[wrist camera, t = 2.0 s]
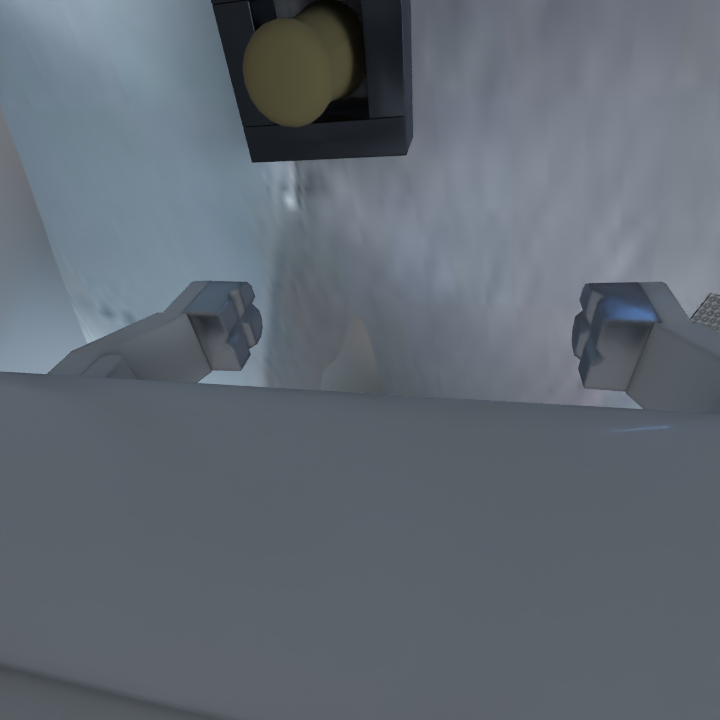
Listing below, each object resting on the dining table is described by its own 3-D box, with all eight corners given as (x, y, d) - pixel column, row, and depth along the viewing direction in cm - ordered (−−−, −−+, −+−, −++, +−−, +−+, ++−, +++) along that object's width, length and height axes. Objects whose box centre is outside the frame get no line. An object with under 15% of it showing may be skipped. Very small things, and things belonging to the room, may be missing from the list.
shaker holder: (229, -48, 29) (197, -51, 25) (409, -77, 26) (399, -84, 23) (271, 145, 37) (251, 163, 33) (413, 137, 34) (406, 155, 31)
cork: (299, 104, 34) (245, 145, 26) (279, 6, 30) (209, 19, 22) (373, 95, 33) (341, 137, 25) (364, -9, 29) (322, 0, 21)
